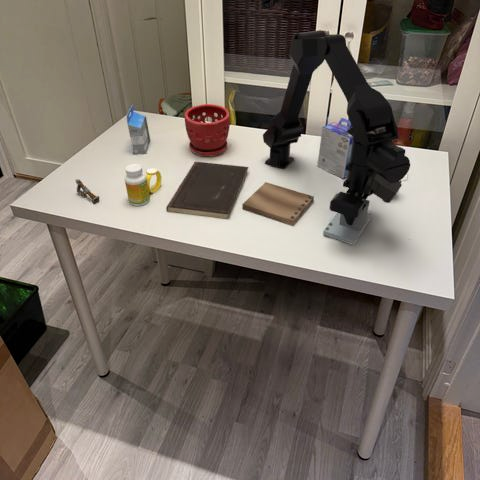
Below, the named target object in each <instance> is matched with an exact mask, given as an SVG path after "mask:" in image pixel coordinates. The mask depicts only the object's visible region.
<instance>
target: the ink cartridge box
mask: <svg viewBox="0 0 480 480" xmlns="http://www.w3.org/2000/svg"><path fill="white" fill-rule="evenodd" d="M342 123H346V124H347V125H344V124H342ZM351 127H352V125H351V123H350V120H349V119H346V118H343V117H340V120H339V121H338V123H337V122H331V123H329V124H326V125H324V126H322V127H321V135H320V142H319V150H318V157H317V158H318V159H317V167H318V168H321V169H322V170H325V171H327V172H329V173H331V174H333V175H335V176H337V177H339V178H341V179H347V174H348V170H345V169H346V165H347V164H348V163H349V161H350V155H351V148H352V142H353V136H352V135H350V134H349V133H348V132H347V130H348V129H350V128H351Z"/></svg>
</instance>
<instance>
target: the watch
mask: <svg viewBox="0 0 480 480" xmlns="http://www.w3.org/2000/svg"><path fill="white" fill-rule="evenodd" d="M145 175H146V177H147V183H148V189H149V193H151V194H154V193H156V191H157V190H159V189H160V187H161V184H162V174H161V172H160V171H159V170H158V169H157V168H156V167H155V168H153V167H151V168H148V169H147V170H146V173H145ZM153 176H156V182H155V184H154V186H153V187H152V188H151V186H150V183H151V178H152V177H153Z"/></svg>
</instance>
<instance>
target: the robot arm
mask: <svg viewBox="0 0 480 480" xmlns="http://www.w3.org/2000/svg"><path fill="white" fill-rule="evenodd" d="M289 45H290V46H289V48H290V49H289V58H290V60H291V62H292V69H291V72H290V75H289V80H288V84H287V86H286V87H287V88H286V91H285V93H284V96H283V97H284V98H283V101H282V104H281V105H282V106H281V108H280V111H279V112H278V113H277V114H275V116H273V117H272V119H271V121H270V124H269V126H268V129H267V130H266V131H265V132H264V133H263V134H262V138H263V143H264V144H266V146H267V147H269V157H268V158H267V159H266V160H265V161H264V164H266V165H270V166H273V167H276V168H279V169H287V167H288V166H289V165H290V164H291V163H293V161H295V157H292V156H290V155H291V144H294V143H295V144H297V143H298V141H299V138H301V137H302V132H303V130H304V126H303V124H302V122H301V119H300V113H301V111H302V107H303V105H304V103H305V102H304V101H305V98H306V95H307V92H308V88H309V87H310V82H311V79H312V77H313V74H314V72H315V71H316V70H317V69H318V68H319V67H320V66H321V65H322V64H323V63H324V62H326V64H327V66H328V67H329V70H330V72H331V74H332V75H333V77H334V78H335V81H336V82H337V84H338V86H339V88H340V89H341V92H342V93H343V95H344V97H345V99H346V101H347V107H346V115H347V117H348V120H349V121H350V123H351V127H350V129H348V130H347V132H348V133H349V134H350V135H352V136H353V142H352V148H351V155H350V161H349V163H348V164H347V165H346V169H345V170H348V174H347V177H346V178H345V180H344V181H343V182H342V187H343V188H347V190H346V191H345V192H343V191H340V192H338V193H335V195H334V196H333V198H332V199H331V200H330V202H329V210H330V211H331V212H334V213H340V214H343V215H344V218H345V220H346V223H347V224H348V225H352V224H353V222H354V219H355V218H356V217H358V215H359V214H360V213H361V211H362V210H363V209H364V207H365V206H366V204H364V201H363V200H364V199H366V200H368V197H370V196H372V195H374V196H375V197H378V198H379V199H381V200H382V201H383V202H384V203H386V204H390V203H391V201H393V199H394V198H395V196H396V195H397V194H398V192H399V191H400V189H401V187H402V186H403V185H402V181H403V178H404V177H405V175H406V174H407V173H409V171H410V168H411V163H410V158H409V157H408V156H406V149H404V148H403V147H401V146H398V145H397V144H395V143H393V141H396V140H399V134H398V133H399V132H398V125H397V124H396V120H395V117H394V111H393V108H392V106H391V104H390V102H389V100H387V98H386V97H385V96H384V95H383V93H381V92H380V91H378V90H377V89H374V88H373V87H372V86H371V85H370V84H369V82H368V81H367V79H366V78H365V75H364V74H363V72H362V71H361V69H360V66H359V65H358V63H357V61H356V60H355V58H354V57H353V55H352V53H351V51H350V50H349V48H348V45H347V39H346V37H345V36H344V35H343V34H340V33H336V34H333V33H332V34H326V32H325V31H324V30H322V29H319V30H313V31H305V32H299V33H298V32H297V33H296V34H294V35H293V36H292V39H291V41H290V44H289ZM383 129H385V131H381V132H378V133H375V132H376V131H378V130H383ZM407 175H408V174H407Z"/></svg>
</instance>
